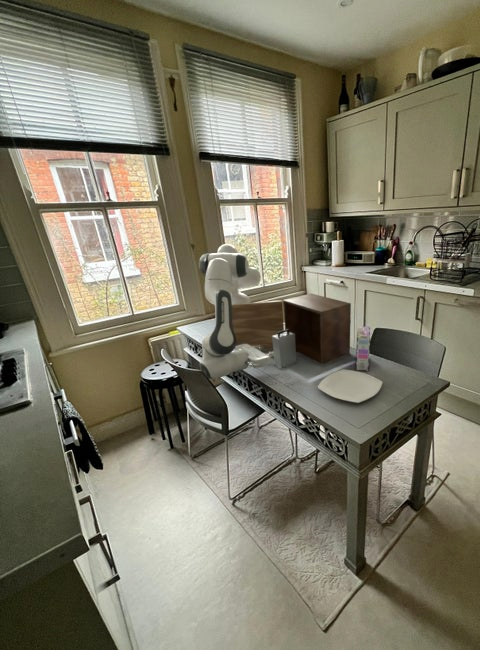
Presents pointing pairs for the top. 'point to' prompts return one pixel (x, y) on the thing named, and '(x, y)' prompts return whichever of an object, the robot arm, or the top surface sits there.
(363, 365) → the candy box
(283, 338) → the grey box with handle
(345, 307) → the cupboard
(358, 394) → the plate
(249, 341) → the cupboard door
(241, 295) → the robot arm
